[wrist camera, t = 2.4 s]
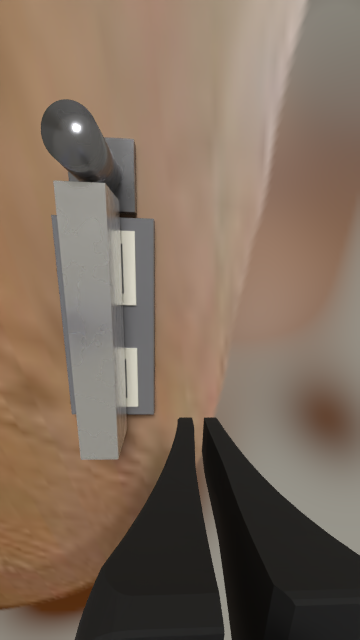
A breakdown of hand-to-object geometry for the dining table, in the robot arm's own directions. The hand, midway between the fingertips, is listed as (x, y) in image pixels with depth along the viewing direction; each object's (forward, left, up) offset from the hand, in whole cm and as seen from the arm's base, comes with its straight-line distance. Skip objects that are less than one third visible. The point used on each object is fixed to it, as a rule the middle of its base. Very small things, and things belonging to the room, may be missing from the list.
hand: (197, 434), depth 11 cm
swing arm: (+3, +7, -9) cm, 11 cm away
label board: (+3, +7, -10) cm, 13 cm away
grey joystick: (+15, +7, -10) cm, 20 cm away
